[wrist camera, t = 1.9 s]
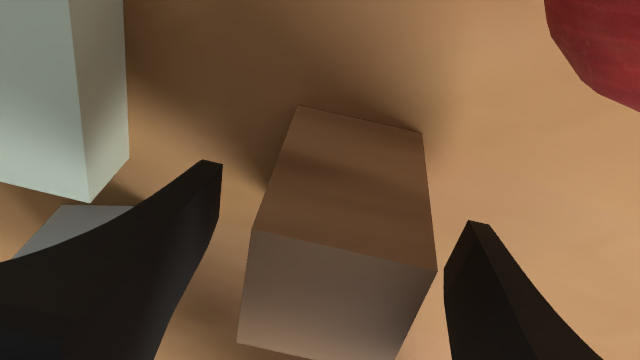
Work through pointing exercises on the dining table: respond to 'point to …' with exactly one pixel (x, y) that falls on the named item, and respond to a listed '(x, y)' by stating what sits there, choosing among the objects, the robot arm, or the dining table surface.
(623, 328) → the dining table surface
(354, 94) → the dining table surface
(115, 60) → the sage slab
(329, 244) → the walnut post
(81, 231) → the bluegrey post
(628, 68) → the onion
